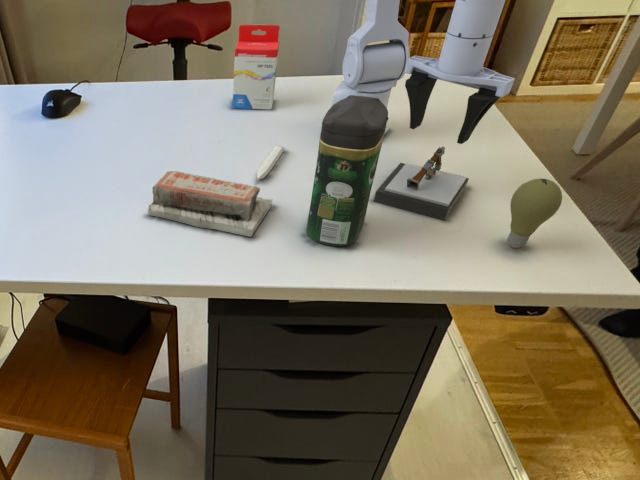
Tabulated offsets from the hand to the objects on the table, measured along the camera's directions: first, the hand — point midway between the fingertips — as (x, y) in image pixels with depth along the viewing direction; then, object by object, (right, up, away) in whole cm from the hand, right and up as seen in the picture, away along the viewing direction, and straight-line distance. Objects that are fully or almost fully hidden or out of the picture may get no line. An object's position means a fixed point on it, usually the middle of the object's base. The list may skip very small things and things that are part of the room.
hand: (438, 133), depth 82 cm
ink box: (-22, +21, +35) cm, 46 cm away
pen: (-22, 0, +15) cm, 27 cm away
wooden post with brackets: (0, -6, +5) cm, 7 cm away
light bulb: (+8, -18, -5) cm, 20 cm away
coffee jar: (-16, -15, +1) cm, 21 cm away
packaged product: (-34, -10, +6) cm, 36 cm away
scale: (0, -7, +6) cm, 10 cm away
